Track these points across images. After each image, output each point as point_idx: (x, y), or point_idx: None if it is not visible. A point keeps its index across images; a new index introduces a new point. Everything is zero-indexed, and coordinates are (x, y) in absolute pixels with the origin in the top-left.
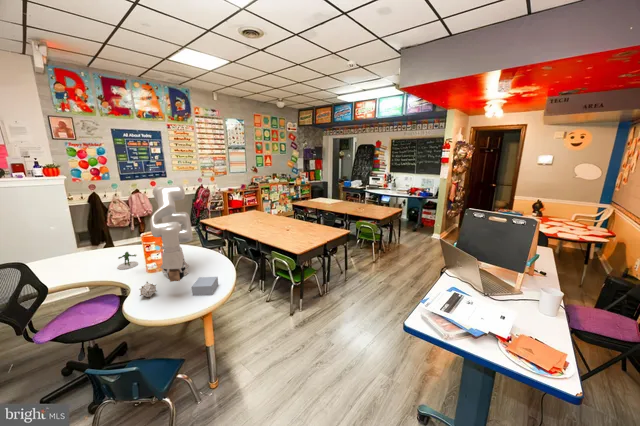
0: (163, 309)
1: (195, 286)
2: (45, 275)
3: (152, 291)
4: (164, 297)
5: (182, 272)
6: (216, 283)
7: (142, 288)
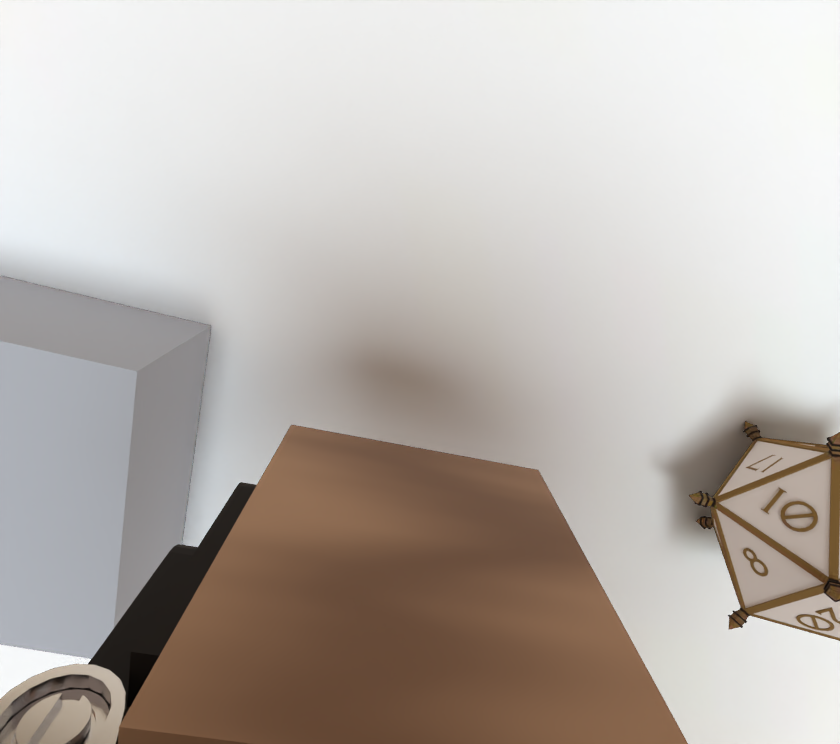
0: (548, 62)
1: (56, 358)
2: None
3: (763, 480)
4: (576, 397)
5: (74, 686)
6: None
7: None
